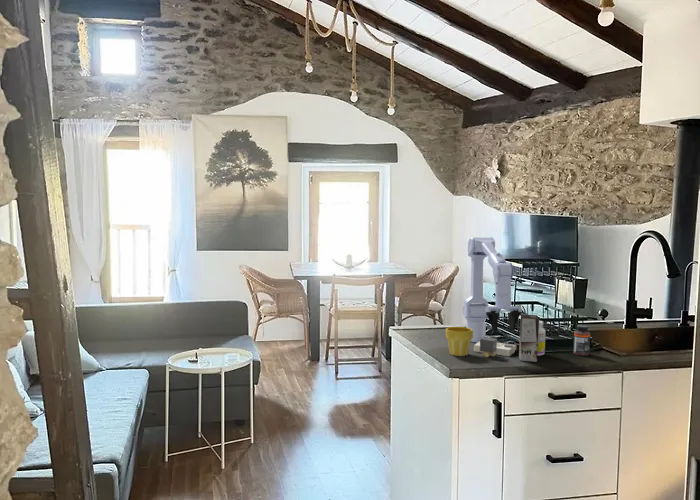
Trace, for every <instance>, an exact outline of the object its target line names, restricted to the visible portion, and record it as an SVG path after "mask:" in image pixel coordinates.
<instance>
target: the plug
mask: <svg viewBox="0 0 700 500" xmlns="http://www.w3.org/2000/svg"><path fill="white" fill-rule="evenodd" d="M497 342H498V338H491V337H486V336H485V337H483V338H482V339H480V351H483V353H482V355H483V356H484V357H485V358H489V357H495V356H496V354H495V351H497Z"/></svg>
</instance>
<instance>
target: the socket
mask: <svg viewBox="0 0 700 500" xmlns="http://www.w3.org/2000/svg"><path fill="white" fill-rule="evenodd" d="M515 350H516V351H517V344H513V343H504V342H498V341H497V351H495V355H496V354H497V356H503V357H511V356H512V355H513V354H515ZM473 352H475V353H476V352H477V353H482V354H483V351H480V342H478V343H477V342H476V343H475V344H474V345H473Z"/></svg>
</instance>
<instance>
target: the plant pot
mask: <svg viewBox="0 0 700 500" xmlns="http://www.w3.org/2000/svg"><path fill="white" fill-rule="evenodd" d="M445 338H446V339H447V344H448V350H449V354H450V355H452V356H454V355H455V357H466V356H468V354H469V350H470V346H471V343H472V342H471V339H472V338H473V330H472V329H470V328H466V327H465V326H451V327H446V328H445ZM465 355H466V356H465Z"/></svg>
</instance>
